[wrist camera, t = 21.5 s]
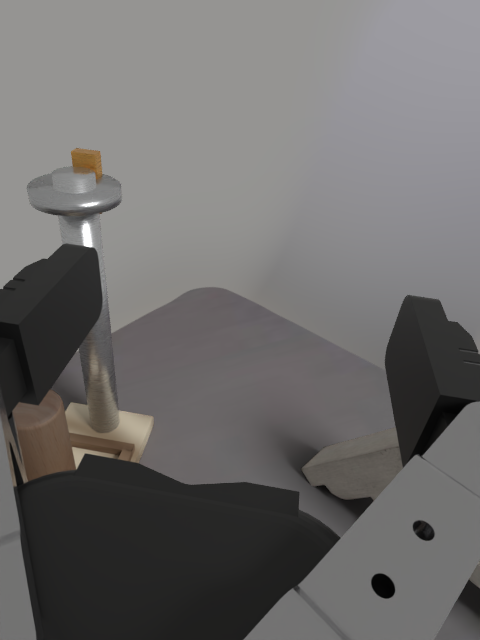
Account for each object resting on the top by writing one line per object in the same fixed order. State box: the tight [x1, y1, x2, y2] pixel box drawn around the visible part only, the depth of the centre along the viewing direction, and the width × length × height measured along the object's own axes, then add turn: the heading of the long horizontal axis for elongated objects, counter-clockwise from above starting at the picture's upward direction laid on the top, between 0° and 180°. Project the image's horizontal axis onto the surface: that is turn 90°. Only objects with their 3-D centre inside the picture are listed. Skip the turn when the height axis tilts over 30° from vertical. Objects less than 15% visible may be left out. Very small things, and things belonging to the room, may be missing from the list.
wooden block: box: [13, 389, 76, 481], centre depth 35 cm, size 4×11×18 cm, turn 60°
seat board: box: [65, 402, 154, 469], centre depth 44 cm, size 24×10×2 cm, turn 172°
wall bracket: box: [301, 427, 480, 588], centre depth 41 cm, size 22×4×30 cm
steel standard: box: [27, 148, 122, 433], centre depth 44 cm, size 7×7×31 cm
